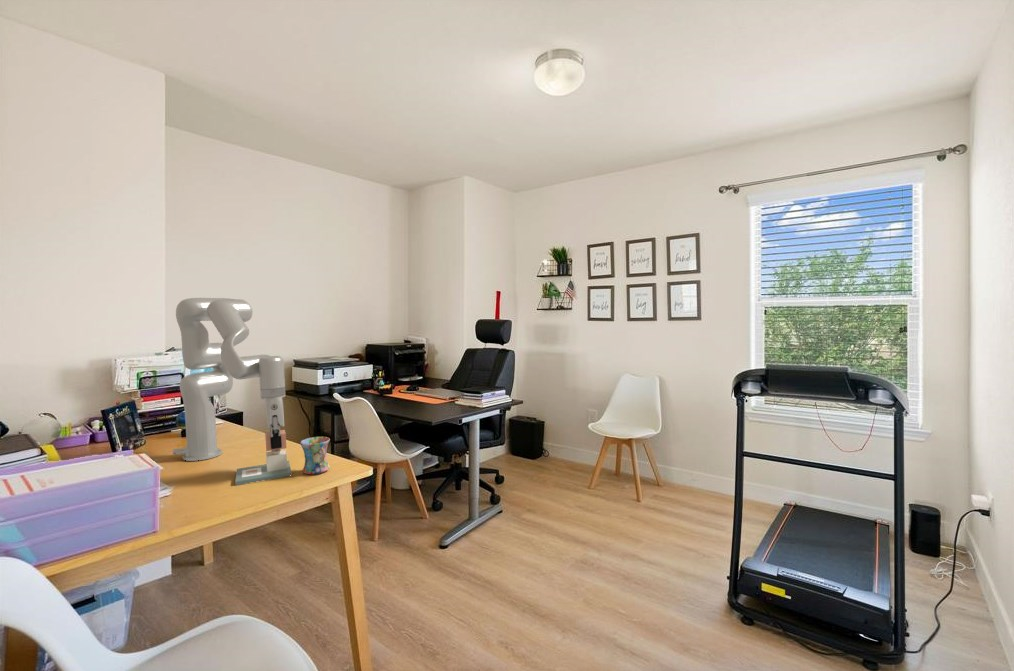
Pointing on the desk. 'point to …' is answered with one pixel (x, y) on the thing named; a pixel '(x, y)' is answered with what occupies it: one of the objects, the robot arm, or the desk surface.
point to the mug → (315, 455)
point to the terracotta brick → (268, 440)
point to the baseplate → (265, 469)
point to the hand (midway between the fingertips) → (276, 445)
